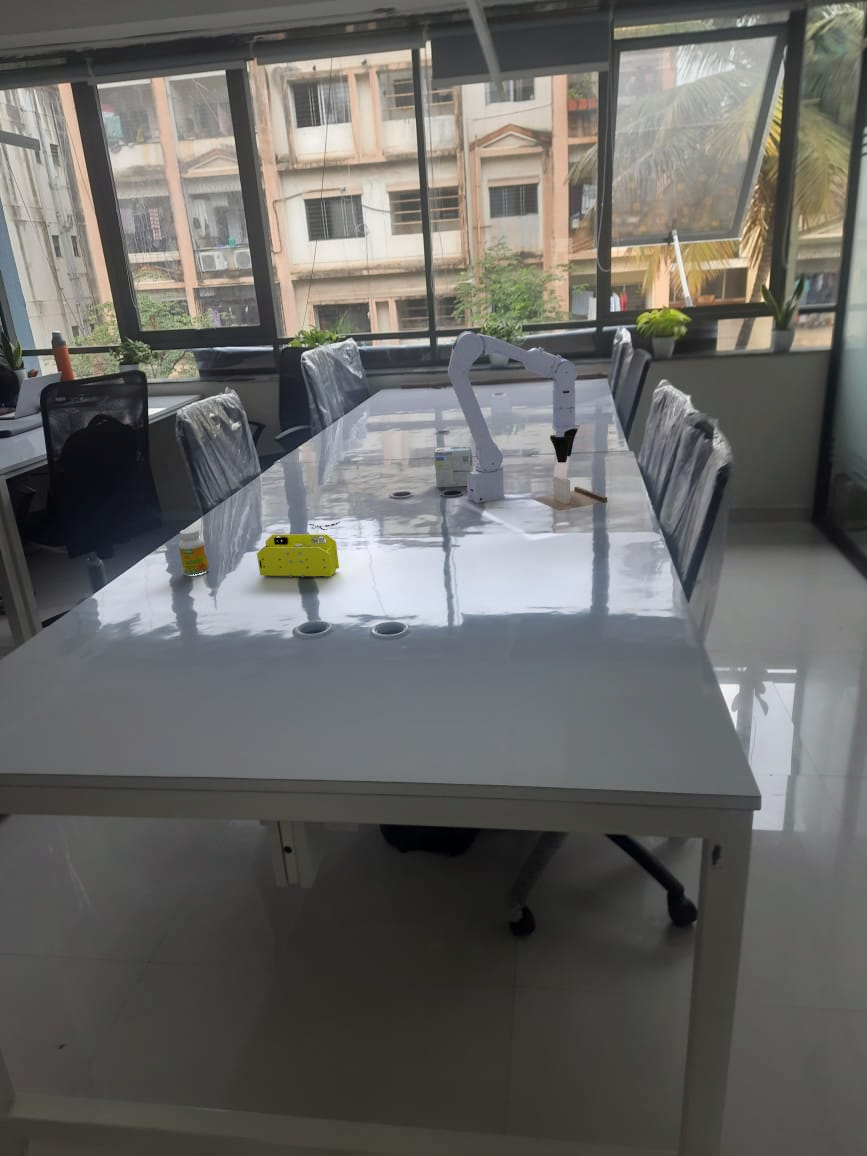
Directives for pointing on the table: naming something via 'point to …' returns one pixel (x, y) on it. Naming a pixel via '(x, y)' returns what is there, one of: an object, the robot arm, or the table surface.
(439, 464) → the light bulb box
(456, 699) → the table surface
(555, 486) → the tile
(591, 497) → the board
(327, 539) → the yellow toy chassis
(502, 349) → the robot arm
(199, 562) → the supplement bottle
